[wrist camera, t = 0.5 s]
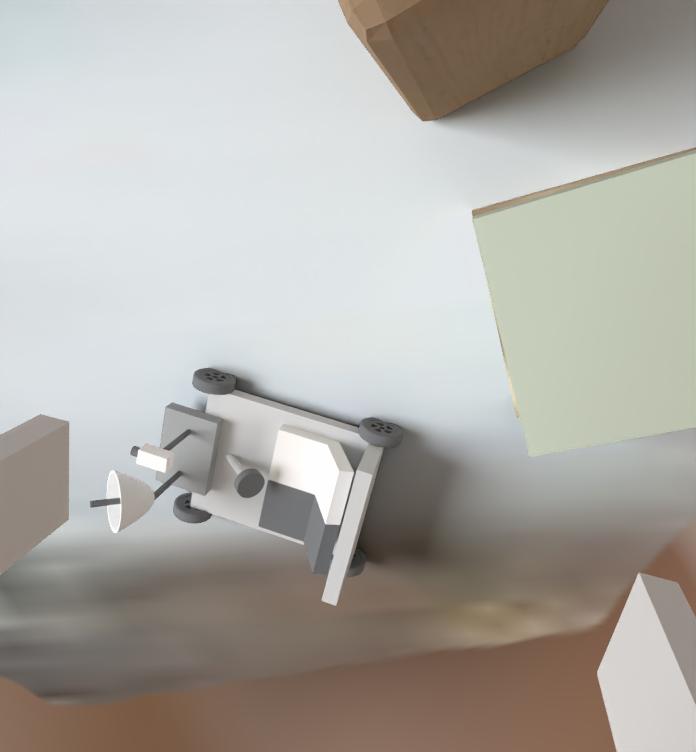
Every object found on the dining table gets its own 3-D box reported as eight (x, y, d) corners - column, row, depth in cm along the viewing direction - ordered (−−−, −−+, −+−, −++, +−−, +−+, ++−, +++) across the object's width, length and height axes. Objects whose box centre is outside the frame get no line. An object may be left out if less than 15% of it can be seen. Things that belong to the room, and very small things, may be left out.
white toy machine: (75, 557, 38) (89, 396, 34) (154, 487, 47) (172, 354, 43) (337, 651, 35) (384, 490, 31) (366, 558, 44) (405, 425, 41)
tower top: (472, 216, 31) (472, 219, 26) (722, 141, 28) (772, 130, 23) (521, 420, 34) (529, 457, 29) (754, 375, 30) (805, 407, 26)
